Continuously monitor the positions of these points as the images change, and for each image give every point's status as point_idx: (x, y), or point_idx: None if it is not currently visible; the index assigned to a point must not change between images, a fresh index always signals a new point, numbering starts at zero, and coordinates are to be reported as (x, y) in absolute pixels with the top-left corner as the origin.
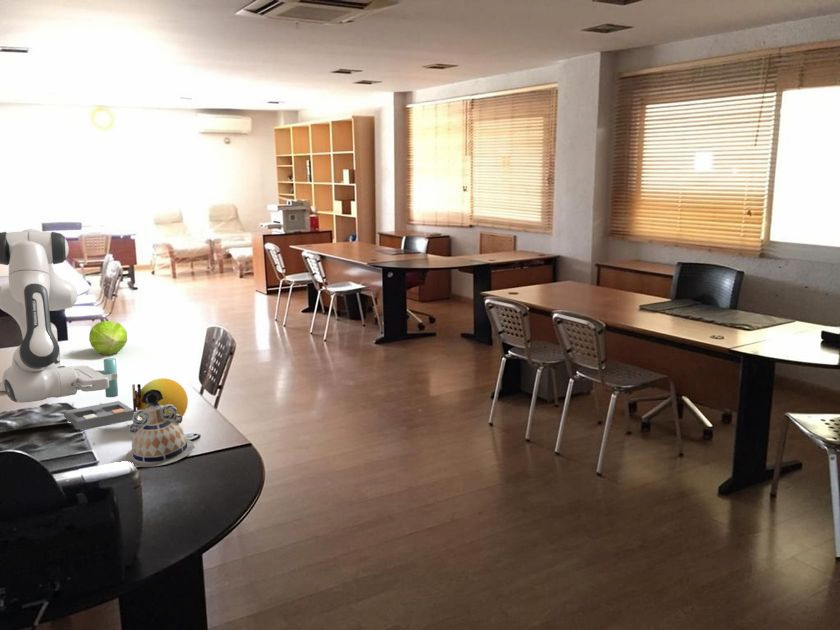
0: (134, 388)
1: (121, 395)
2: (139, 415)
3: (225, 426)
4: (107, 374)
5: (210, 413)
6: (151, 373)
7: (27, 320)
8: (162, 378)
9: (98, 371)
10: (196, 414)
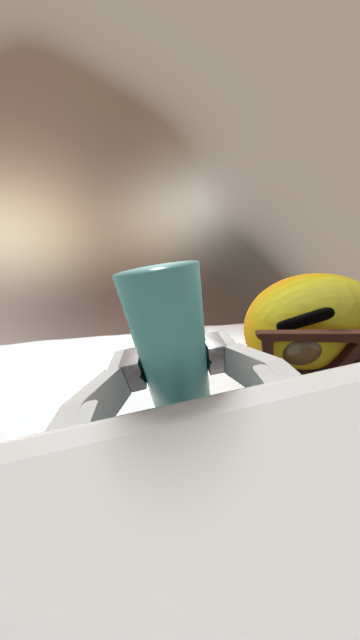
0: (324, 330)
1: (40, 413)
2: None
3: None
4: (199, 364)
5: (233, 325)
6: (6, 358)
7: None
8: (300, 276)
9: (98, 404)
10: (233, 334)
